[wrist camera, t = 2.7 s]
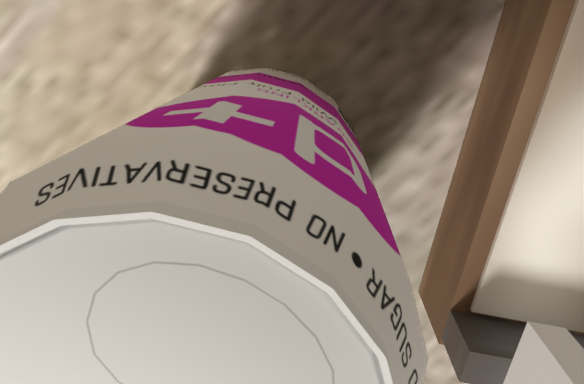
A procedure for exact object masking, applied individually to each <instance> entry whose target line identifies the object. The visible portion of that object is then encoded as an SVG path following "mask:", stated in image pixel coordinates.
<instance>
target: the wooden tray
mask: <svg viewBox="0 0 584 384" xmlns="http://www.w3.org/2000/svg"><path fill="white" fill-rule="evenodd" d="M419 294H420V296H421V299H422V302H423V304H424V307H425V309H426V312H427V314H428V317H429V319H430V322H431V325H432V327H433V330H434V332H435V335H436V337H437V340H438V342H439V344H443V345H445V348H446V350H447V353H448V355H449V358H450V360H451V362H452V365H453V367H454V370H455V372H456V375H457V377H458V380H459V382H464V383H470V384H503V383H504V380H505V378H506V375H507V373H508V370H509V367H510V365H511V362H512V360H513V357H514V355H515V352H516V350H517V347H518V344H519V342H520V339H521V337H522V334H523V332H524V329H525V327H526V324H527V321H529V322H535V323H540V324H546V325H551V326H557V327H562V328H566V329H567V330H568V331H569V332H570V334H571V335H572V336H573V337H574V338H575V339H576V341H577V342H578V343H579V344H580V345H581V346H582V348H583V349H584V0H506V2H505V5H504V8H503V12H502V15H501V18H500V22H499V25H498V28H497V32H496V35H495V38H494V42H493V45H492V48H491V52H490V55H489V58H488V62H487V65H486V68H485V72H484V75H483V78H482V81H481V85H480V88H479V91H478V95H477V98H476V101H475V105H474V108H473V111H472V115H471V118H470V121H469V125H468V128H467V131H466V135H465V138H464V141H463V145H462V148H461V151H460V155H459V158H458V161H457V165H456V168H455V171H454V175H453V178H452V181H451V185H450V188H449V191H448V195H447V198H446V201H445V205H444V208H443V211H442V215H441V218H440V221H439V224H438V228H437V231H436V234H435V238H434V241H433V244H432V248H431V251H430V254H429V258H428V261H427V264H426V268H425V271H424V274H423V278H422V281H421V284H420V288H419Z"/></svg>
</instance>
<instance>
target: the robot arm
mask: <svg viewBox="0 0 584 384" xmlns="http://www.w3.org/2000/svg"><path fill="white" fill-rule="evenodd" d="M503 384H584V349H583V348H582V346H581V345H580V344H579V343H578V342H577V341H576V339H575V338H574V337H573V336H572V335H571V334H570V332H569V331H568V330H567V329H566V328H562V327H557V326H551V325H546V324H540V323H535V322H529V321H527V324H526V327H525V329H524V332H523V334H522V337H521V339H520V342H519V344H518V347H517V350H516V352H515V355H514V357H513V360H512V362H511V365H510V367H509V370H508V373H507V375H506V378H505V380H504V383H503Z"/></svg>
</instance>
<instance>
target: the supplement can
mask: <svg viewBox="0 0 584 384" xmlns="http://www.w3.org/2000/svg"><path fill="white" fill-rule="evenodd" d="M427 362H428V355H427V351H426V346H425V342H424V338H423V334H422V329H421V325H420V321H419V317H418V312H417V308H416V304H415V300H414V295H413V291H412V287H411V283H410V280H409V277H408V275H407V272H406V269H405V267H404V264H403V261H402V258H401V256H400V253H399V250H398V248H397V245H396V242H395V240H394V237H393V234H392V232H391V229H390V226H389V224H388V221H387V218H386V215H385V213H384V210H383V207H382V205H381V202H380V199H379V197H378V194H377V191H376V189H375V186H374V183H373V181H372V178H371V175H370V173H369V170H368V167H367V164H366V162H365V159H364V156H363V154H362V151H361V148H360V146H359V143H358V140H357V138H356V135H355V132H354V130H353V127H352V126H351V124H350V123H349V121H348V120H347V118H346V117H345V115H344V114H343V113H342V111H341V110H340V108H339V107H338V105H337V104H336V102H335V101H334V100H333V98H332V97H330V96H329V95H328V94H326V93H325V92H323V91H322V90H320V89H319V88H318V87H316V86H315V85H313V84H312V83H311V82H309V81H308V80H306V79H305V78H303V77H302V76H298V75H294V74H290V73H286V72H283V71H279V70H275V69H271V68H267V67H264V68H254V69H244V70H234V71H229V72H227V73H225V74H223V75H221V76H219V77H217V78H215V79H213V80H211V81H209V82H207V83H205V84H203V85H201V86H199V87H197V88H195V89H193V90H191V91H189V92H187V93H185V94H183V95H181V96H179V97H177V98H175V99H173V100H171V101H170V102H168V103H166V104H164V105H162V106H160V107H158V108H156V109H154V110H152V111H150V112H148V113H146V114H144V115H142V116H140V117H138V118H136V119H134V120H132V121H130V122H128V123H126V124H124V125H122V126H120V127H118V128H116V129H114V130H112V131H110V132H108V133H107V134H105V135H103V136H101V137H99V138H97V139H95V140H93V141H91V142H89V143H87V144H85V145H83V146H81V147H79V148H77V149H75V150H73V151H71V152H69V153H67V154H65V155H63V156H61V157H59V158H57V159H55V160H53V161H51V162H49V163H47V164H46V165H44V166H42V167H40V168H38V169H36V170H34V171H32V172H30V173H28V174H26V175H24V176H22V177H20V178H18V179H16V180H14V181H12V182H10V183H9V184H8V186H7V187H6V188H5V189H4V190H3V192H2V193H1V194H0V384H423V383H424V378H425V372H426V367H427Z"/></svg>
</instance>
